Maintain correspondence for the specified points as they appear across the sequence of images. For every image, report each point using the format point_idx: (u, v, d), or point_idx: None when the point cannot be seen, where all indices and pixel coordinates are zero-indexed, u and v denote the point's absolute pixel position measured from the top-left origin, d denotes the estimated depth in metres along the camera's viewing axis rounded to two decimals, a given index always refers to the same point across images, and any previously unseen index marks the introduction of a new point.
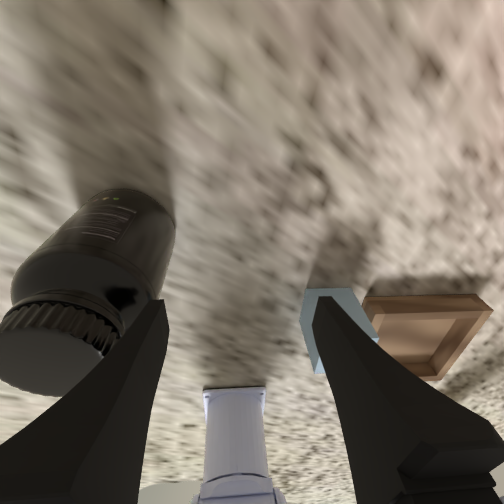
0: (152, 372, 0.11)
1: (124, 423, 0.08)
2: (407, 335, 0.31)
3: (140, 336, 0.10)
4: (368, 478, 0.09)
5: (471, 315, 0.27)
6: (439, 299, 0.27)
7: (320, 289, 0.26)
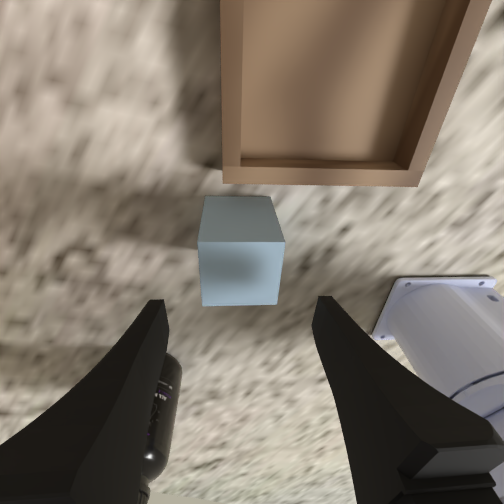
0: (152, 372, 0.11)
1: (124, 423, 0.08)
2: (327, 57, 0.14)
3: (140, 336, 0.10)
4: (368, 478, 0.09)
5: None
6: None
7: None
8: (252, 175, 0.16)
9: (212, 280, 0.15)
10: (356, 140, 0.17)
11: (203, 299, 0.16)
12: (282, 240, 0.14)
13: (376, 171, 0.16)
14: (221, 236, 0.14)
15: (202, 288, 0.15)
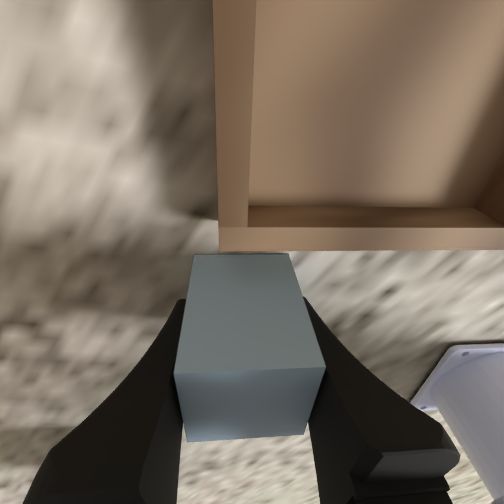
0: None
1: (169, 420, 0.08)
2: (395, 49, 0.08)
3: (176, 335, 0.10)
4: (329, 481, 0.08)
5: None
6: None
7: None
8: (266, 239, 0.10)
9: (202, 415, 0.09)
10: (424, 179, 0.11)
11: (188, 435, 0.10)
12: (320, 362, 0.08)
13: (460, 230, 0.10)
14: (216, 354, 0.08)
15: (186, 424, 0.10)
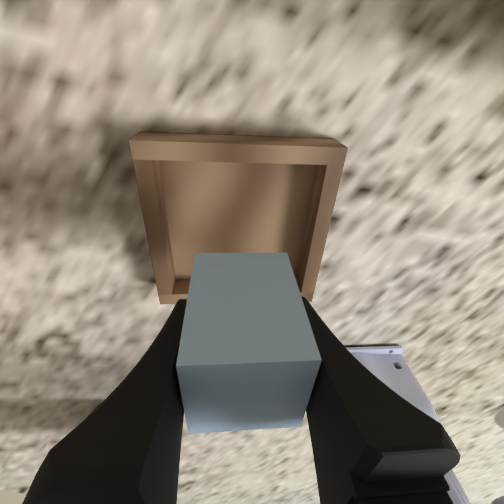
0: None
1: (169, 420, 0.08)
2: (231, 221, 0.20)
3: (176, 335, 0.10)
4: (329, 481, 0.08)
5: (146, 179, 0.16)
6: None
7: None
8: None
9: (203, 407, 0.10)
10: None
11: (189, 427, 0.10)
12: (316, 356, 0.09)
13: None
14: (217, 347, 0.09)
15: (187, 416, 0.10)
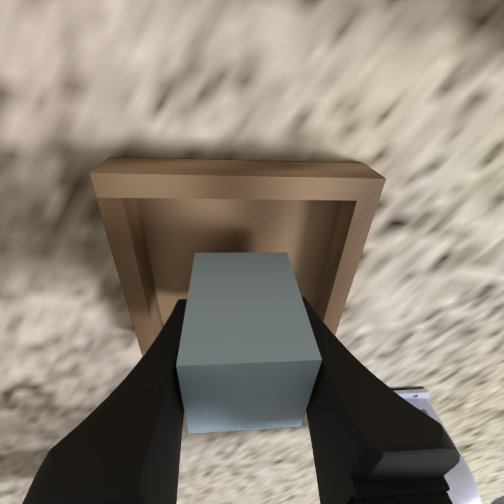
0: None
1: (169, 420, 0.08)
2: None
3: (176, 335, 0.10)
4: (329, 481, 0.08)
5: (116, 221, 0.12)
6: None
7: None
8: None
9: (203, 407, 0.10)
10: None
11: (190, 427, 0.10)
12: (316, 355, 0.09)
13: None
14: (217, 347, 0.09)
15: (187, 416, 0.10)
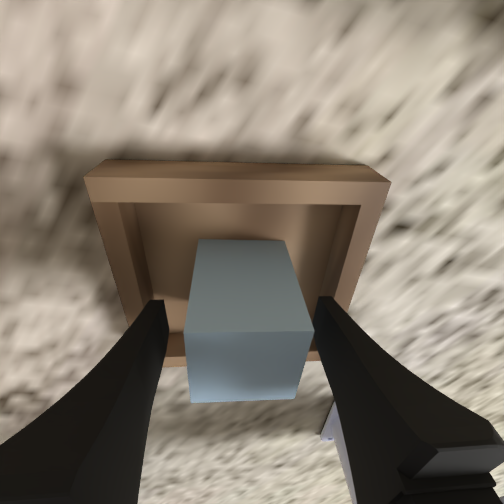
0: (152, 372, 0.11)
1: (124, 423, 0.08)
2: None
3: (140, 336, 0.10)
4: (368, 478, 0.09)
5: (112, 226, 0.11)
6: None
7: None
8: (169, 362, 0.17)
9: (205, 375, 0.11)
10: None
11: (192, 396, 0.11)
12: (310, 327, 0.10)
13: None
14: (220, 319, 0.10)
15: (191, 384, 0.11)
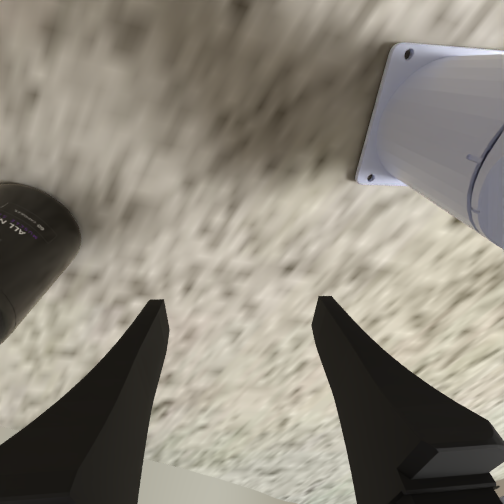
0: (152, 372, 0.11)
1: (124, 423, 0.08)
2: None
3: (140, 336, 0.10)
4: (368, 478, 0.09)
5: None
6: None
7: None
8: None
9: None
10: None
11: None
12: None
13: None
14: None
15: None
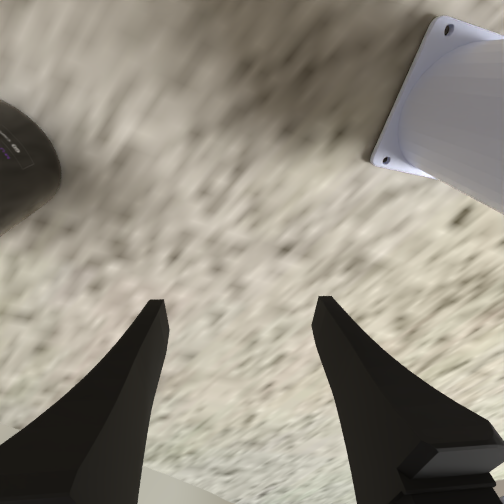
0: (152, 372, 0.11)
1: (124, 423, 0.08)
2: None
3: (140, 336, 0.10)
4: (368, 478, 0.09)
5: None
6: None
7: None
8: None
9: None
10: None
11: None
12: None
13: None
14: None
15: None
